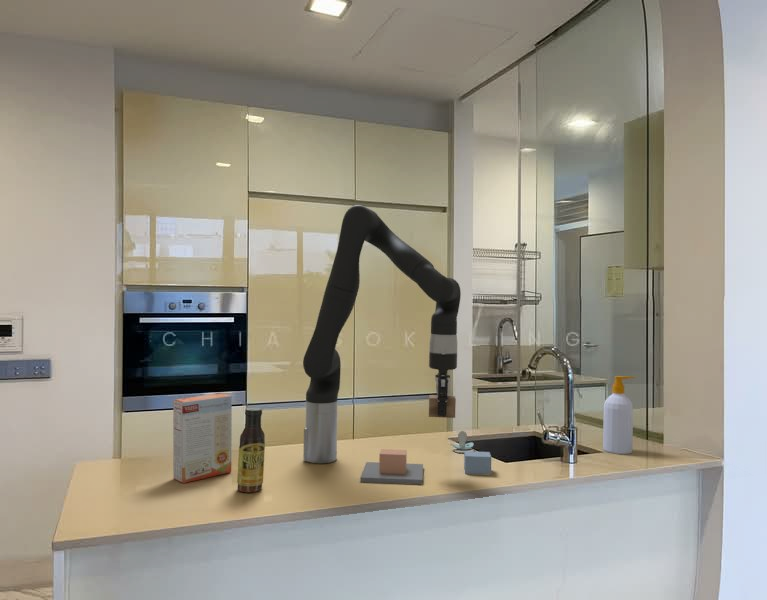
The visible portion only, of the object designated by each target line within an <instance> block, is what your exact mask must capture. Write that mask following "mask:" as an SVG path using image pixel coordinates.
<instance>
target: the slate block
mask: <svg viewBox="0 0 767 600" xmlns="http://www.w3.org/2000/svg"><path fill="white" fill-rule="evenodd" d="M463 459H464V460H463V470H465V471H464V473H465V475H478V474H489V475H488V476H491V475H492V455H491V452H490V451H474V452H471V451H469V450H468V451H464V453H463Z"/></svg>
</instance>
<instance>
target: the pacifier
mask: <svg viewBox="0 0 767 600" xmlns="http://www.w3.org/2000/svg"><path fill="white" fill-rule="evenodd" d="M457 438H458V445H456V444H452V443H450V445H451V446H452V447H453V448H455V449H454V452H455V453H458V454H464V451H471V452H475V449H473V447H474V444H475V443H474V442H467V443H466V441H467V438H468V435H467V433H466V431H464V430H460V431H458V433H457Z"/></svg>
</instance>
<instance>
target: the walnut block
mask: <svg viewBox="0 0 767 600" xmlns="http://www.w3.org/2000/svg"><path fill="white" fill-rule="evenodd" d="M428 396H429V397H428V418H447V419H449V418H450V419H455V418H456V403H457V402H456V400H457V399H456V396H455V395H447V398H448V401H447V402H446V416H438V400H437V397H438V395H437V394H429V395H428ZM440 396H443V395H440Z"/></svg>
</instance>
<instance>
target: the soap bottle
mask: <svg viewBox="0 0 767 600" xmlns="http://www.w3.org/2000/svg"><path fill="white" fill-rule="evenodd" d="M627 379H634V380H635V379H636V377H635V376H629V375H627V376H626V375H624V376H621V375H615V376H614V382H613V384H612V391H611V392H612V394H610V395H608V397H606V399H605V400H604V404H603V421H602V422H603V423H602V424H603V431H602V432H603V434H602V435H603V438H602V440H603V441H602V442H603V443H602V448H603V449H602V450H604V451H605V452H607V453H612V454H617V455H628V454H629V455H630V454H632V452H633V435H634V433H633V429H634V424H633V423H634V417H633V416H634V407H633V403H632V401H631V400H630V398H628V396H626V395H625V385H624V382H623V380H627Z"/></svg>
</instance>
